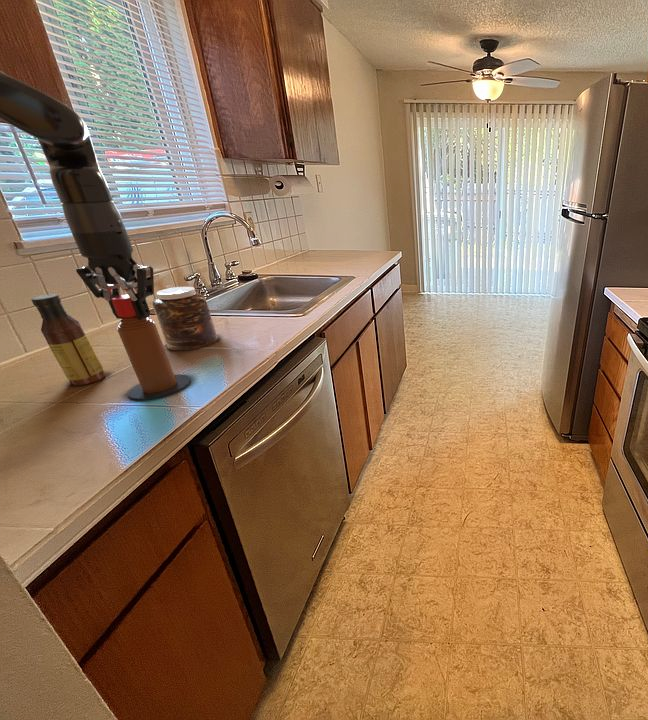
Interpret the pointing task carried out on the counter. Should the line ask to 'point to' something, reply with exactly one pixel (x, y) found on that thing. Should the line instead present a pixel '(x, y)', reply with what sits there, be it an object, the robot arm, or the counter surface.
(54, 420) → the counter surface
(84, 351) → the sauce bottle
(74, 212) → the robot arm
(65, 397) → the counter surface
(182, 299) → the jar
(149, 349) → the bottle
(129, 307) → the cap
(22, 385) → the counter surface
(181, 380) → the coaster
